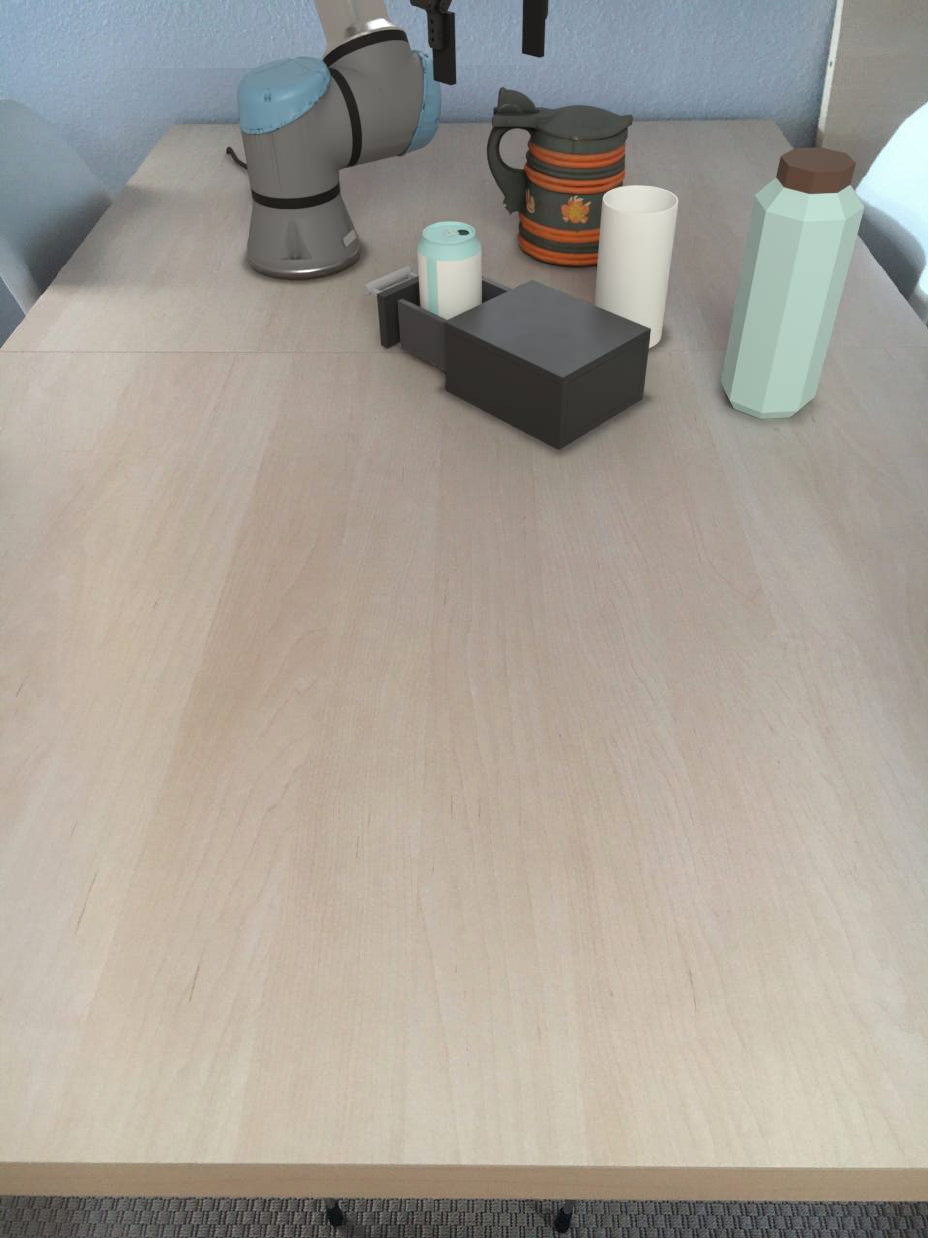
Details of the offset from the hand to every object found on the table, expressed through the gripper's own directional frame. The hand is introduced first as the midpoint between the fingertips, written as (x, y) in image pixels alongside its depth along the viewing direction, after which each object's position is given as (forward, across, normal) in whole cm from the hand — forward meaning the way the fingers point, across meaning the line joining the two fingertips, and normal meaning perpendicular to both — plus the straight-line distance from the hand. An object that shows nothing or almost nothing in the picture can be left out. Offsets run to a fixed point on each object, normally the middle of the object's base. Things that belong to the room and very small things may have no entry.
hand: (490, 68), depth 107 cm
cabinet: (+27, -12, -20) cm, 35 cm away
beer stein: (+27, +18, +5) cm, 33 cm away
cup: (+27, +5, -18) cm, 33 cm away
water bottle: (+27, +4, -38) cm, 47 cm away
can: (+25, -12, -6) cm, 28 cm away
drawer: (+26, -12, -5) cm, 29 cm away
